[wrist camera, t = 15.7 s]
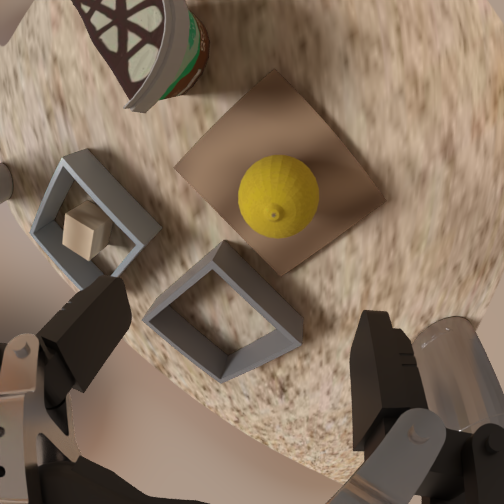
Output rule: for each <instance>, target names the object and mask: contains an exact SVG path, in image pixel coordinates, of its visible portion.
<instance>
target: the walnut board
mask: <svg viewBox="0 0 504 504" xmlns="http://www.w3.org/2000/svg"><path fill="white" fill-rule="evenodd" d="M271 155H287V156H291V157H294V158H296V159H298V160H300V161H302V162H303V163H304V164H305V165H306V166H307V167H308V168H309V169H310V170H311V172H312V173H313V175H314V176H315V178H316V181H317V184H318V187H319V203H318V207H317V211H316V213H315V215H314V217H313V219H312V221H311V222H310V223H309V224H308V225H307V226H306V227H305V228H304V229H303V230H302V231H300V232H299V233H297V234H295V235H293V236H290V237H287V238H279V239H276V238H269V237H266V236H263V235H260V234H259V233H257V232H256V231H254V230H253V229H252V228H251V227H250V226H249V225H248V224H247V223H246V222H245V220H244V218H243V216H242V214H241V211H240V208H239V204H238V191H239V187H240V183H241V180H242V178H243V176H244V175H245V173H246V171H247V170H248V169H249V168H250V167H251V166H252V165H253V164H254V163H255V162H257V161H259V160H260V159H262V158H264V157H268V156H271ZM174 169H175V170H176V171H177V172H178V173H179V174H180V175H181V176H182V177H183V178H184V179H185V180H186V181H187V182H188V183H189V184H190V185H191V186H192V187H193V188H194V189H195V190H196V191H197V192H198V193H199V194H200V195H201V196H202V197H203V198H204V199H205V200H206V201H207V202H208V203H209V204H210V205H211V206H212V207H213V208H214V209H215V210H216V211H217V212H218V214H219V215H220V216H221V217H222V218H223V219H224V220H225V221H226V222H227V223H228V224H229V225H230V226H231V227H232V228H233V229H234V230H235V231H236V232H237V233H238V234H239V235H240V236H241V237H242V238H243V239H244V240H245V241H246V242H247V243H248V244H249V245H250V246H251V247H252V248H253V249H254V250H255V251H256V252H257V253H258V254H259V255H260V256H261V257H262V258H263V259H264V260H265V261H266V262H267V264H268V265H269V266H270V267H271V268H272V269H273V270H274V271H275V272H276V273H277V274H278V275H279V276H280V277H281V276H283V275H284V274H286V273H287V272H289V271H290V270H291V269H293V268H294V267H296V266H297V265H299V264H300V263H301V262H303V261H304V260H306V259H307V258H309V257H310V256H311V255H313V254H314V253H316V252H317V251H318V250H320V249H321V248H323V247H324V246H325V245H327V244H328V243H330V242H331V241H332V240H334V239H335V238H337V237H338V236H339V235H341V234H342V233H344V232H345V231H346V230H348V229H349V228H350V227H352V226H353V225H355V224H356V223H357V222H359V221H360V220H361V219H363V218H364V217H365V216H367V215H368V214H369V213H371V212H372V211H373V210H375V209H376V208H378V207H379V206H380V205H382V204H383V203H384V202H386V201H387V200H386V199H385V198H384V196H383V195H382V193H381V192H380V191H379V189H378V188H377V186H376V185H375V184H374V182H373V181H372V180H371V178H370V177H369V176H368V174H367V173H366V172H365V170H364V169H363V168H362V166H361V165H360V164H359V162H358V161H357V160H356V159H355V157H354V156H353V155H352V154H351V152H350V151H349V150H348V149H347V147H346V146H345V145H344V144H343V142H342V141H341V140H340V139H339V138H338V136H337V135H336V134H335V133H334V132H333V130H332V129H331V128H330V127H329V126H328V125H327V124H326V122H325V121H324V120H323V119H322V118H321V117H320V116H319V114H318V113H317V112H316V111H315V110H314V109H313V108H312V107H311V106H310V105H309V104H308V102H307V101H306V100H305V99H304V98H303V97H302V96H301V95H300V94H299V93H298V92H297V91H296V90H295V89H294V88H293V87H292V86H291V85H290V84H289V83H288V82H287V81H286V80H285V79H284V78H283V77H282V76H281V75H280V74H279V73H278V72H277V71H276V70H275V69H273V70H272V71H271V72H270V73H269V74H268V75H267V76H265V77H264V78H263V79H262V80H261V81H260V82H259V83H257V84H256V85H255V86H254V87H253V88H252V89H251V90H250V91H249V92H247V93H246V94H245V95H244V96H243V97H242V98H241V99H240V100H239V101H238V102H237V103H236V104H235V105H234V106H233V107H231V108H230V109H229V110H228V111H227V112H226V113H225V114H224V115H223V116H222V117H221V118H220V119H219V120H218V121H217V122H216V123H215V124H214V125H213V126H212V127H211V128H210V129H209V130H208V131H207V132H206V133H205V134H204V135H203V136H202V137H201V138H200V139H199V141H198V142H197V143H196V144H195V145H194V146H193V147H192V148H191V149H190V150H189V151H188V152H187V153H186V154H185V155H184V157H183V158H182V159H181V160H180V161H179V162H178V163H177V164H176V165H175V166H174Z"/></svg>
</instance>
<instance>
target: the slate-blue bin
mask: <svg viewBox="0 0 504 504" xmlns="http://www.w3.org/2000/svg"><path fill="white" fill-rule="evenodd" d="M74 179H75V180H76V181H77V182H78V183H79V184H80V186H81V187H82V188H83V189H84V190H85V191H86V192H87V193H88V195H89V196H90V197H91V198H92V199H93V200H94V201H95V202H96V203H97V204H98V205H99V207H100V208H101V209H102V210H103V211H104V212H105V213H106V214H107V215H108V216H109V217H110V218H111V219H112V220H113V221H114V222H115V223H116V225H117V226H118V227H119V228H120V229H121V230H122V231H123V232H124V233H125V234H126V235H127V236H128V237H129V238H130V239H131V240H132V241H133V242H134V243H135V244H136V246H135V247H134V248H133V249H132V251H131V252H130V253H129V254H128V255H127V256H126V258H125V259H124V260H123V261H122V263H121V264H120V265H119V266H118V267H117V269H116V270H115V271H114V272H113V274H112V275H111V276H113V277H119V276H120V275H121V274H122V273H123V272H124V270H125V269H126V268H127V267H128V266H129V265H130V264H131V262H132V261H133V260H134V259H135V258H136V257H137V256H138V254H139V253H140V252H141V251H142V250H143V249H144V248H145V247H146V245H147V244H148V243H149V242H150V241H151V240H152V239H153V238H154V237H155V235H156V234H157V233H158V232H159V231H160V230H161V229H162V227H161V226H160V225H159V224H158V223H157V222H156V221H155V220H154V219H153V218H152V217H151V215H150V214H149V213H148V212H147V211H146V210H145V209H144V208H143V207H142V206H141V205H140V204H139V203H138V202H137V201H136V200H135V199H134V198H133V197H132V196H131V195H130V194H129V193H128V192H127V191H126V190H125V189H124V188H123V187H122V185H121V184H120V183H119V182H118V181H117V180H116V179H115V178H114V177H113V176H112V175H111V174H110V173H109V172H108V171H107V170H106V168H105V167H104V166H103V165H102V164H101V163H100V162H99V161H98V160H97V159H96V158H95V157H94V155H93V154H92V153H91V152H90V151H89V150H88V149H84V150H81V151H78V152H75V153H72V154H69V155H67V156H64V157H62V158H61V160H60V162H59V164H58V166H57V168H56V170H55V172H54V175H53V177H52V179H51V181H50V183H49V185H48V188H47V190H46V192H45V194H44V197H43V199H42V202H41V204H40V206H39V209H38V211H37V214H36V217H35V219H34V222H33V224H32V227H31V230H30V234H31V236H32V237H33V238H34V239H35V241H36V242H37V243H38V244H39V245H40V247H41V248H42V249H43V250H44V251H45V252H46V254H47V255H48V256H49V257H50V258H51V259H52V260H53V262H54V263H55V264H56V265H57V266H58V267H59V268H60V269H61V270H62V271H63V273H64V274H65V275H66V276H67V277H68V278H69V279H70V280H71V281H72V282H73V283H74V284H75V285H76V286H77V287H78V288H79V289H80V290H83V289H85V288H86V287H88V286H90V285H91V284H92V283H93V282H94V281H95V280H96V279H97V278H98V277H99V276H101V275H104V274H103V273H102V272H101V271H100V270H99V269H98V268H97V267H96V266H95V264H94V263H93V262H92V261H91V260H90V261H88V260H86V259H85V258H83V257H81V256H80V255H78V254H77V253H75V252H74V251H72V250H71V249H69V248H68V247H66V246H65V245H63V244H62V242H63V230H62V229H61V227H60V226H59V225H58V224H57V223H56V222H55V221H54V219H55V217H56V215H57V213H58V211H59V208H60V206H61V204H62V202H63V200H64V198H65V196H66V195H67V193H68V191H69V189H70V187H71V185H72V183H73V181H74Z"/></svg>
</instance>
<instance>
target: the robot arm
mask: <svg viewBox="0 0 504 504" xmlns="http://www.w3.org/2000/svg"><path fill="white" fill-rule="evenodd" d="M131 320H132V313H131V309H130V305H129V301H128V297H127V293H126V289H125V284H124V282H123V280H122V279H121V278H119V277H113V276H107V275H101V276H99V277H98V278H97V279H96V280H95V281H94V282H93V283H92V284H91V285H90V286H88V287H86V288H85V289H83V290H81V291H79V292H78V293H76V294H75V295H74V297H72V298H71V299H70V300H69V303H66V304H65V305H64V306H63V307H62V310H59V312H57V313H56V314H55V316H54V317H53V318H52V319H51V320H50V321H49V322H48V323H47V324H46V325H45V326H44V327H43V328H42V329H41V330H40V331H39V332H38V333H37V334H36V335H33V334H22V335H19V336H17V337H15V338H13V339H12V340H11V341H10V342H9V343H8V344H6V343H0V504H208V503H204V502H200V501H196V500H179V499H167V498H157V497H150V496H148V495H145V494H144V493H142V492H141V491H139V490H137V489H136V488H135V487H133V486H132V485H131V484H129V483H128V482H126V481H125V480H124V479H122V478H121V477H119V476H118V475H117V474H115V473H114V472H113V471H111V470H109V469H106V468H104V467H102V466H100V465H98V464H96V463H94V462H92V461H90V460H88V459H86V458H84V457H83V456H82V454H81V452H80V450H79V448H78V446H77V443H76V439H75V431H74V424H73V413H72V403H71V396H70V394H69V391H70V390H71V388H73V389H76V390H78V391H80V392H83V393H84V392H85V391H86V389H87V388H88V386H89V385H90V383H91V382H92V380H93V379H94V377H95V376H96V374H97V373H98V371H99V370H100V369H101V367H102V366H103V364H104V363H105V361H106V360H107V358H108V357H109V356H110V354H111V353H112V351H113V350H114V348H115V347H116V346H117V344H118V343H119V342H120V340H121V339H122V337H123V336H124V335H125V333H126V332H127V330H128V329H129V327H130V324H131ZM350 378H351V396H352V422H353V451H364V462H363V464H362V465H361V466H360V467H359V468H358V469H357V471H356V472H355V473H354V474H353V475H352V476H351V477H350V479H349V480H348V481H347V482H346V483H345V484H344V485H343V486H342V487H341V488H340V489H339V490H338V492H337V493H336V494H335V495H334V496H333V497H332V498H331V499H330V500H329V501H328V502H327V503H326V504H408V503H409V502H410V500H411V499H412V497H413V496H414V495H420V496H422V504H504V394H503V391H502V389H501V386H500V384H499V381H498V379H497V377H496V374H495V372H494V370H493V368H492V365H491V363H490V361H489V359H488V357H487V354H486V352H485V350H484V348H483V346H482V344H481V342H480V340H479V338H478V336H477V334H476V332H475V330H474V328H473V326H472V324H471V323H470V322H469V321H468V320H466V319H465V318H461V317H450V318H445V319H443V320H440V321H438V322H436V323H434V324H432V325H430V326H429V327H428V328H426V329H425V330H424V331H423V332H422V333H420V334H419V335H418V337H417V338H416V339H415V341H414V342H413V344H411V341H410V339H409V338H408V337H407V336H406V334H405V333H404V332H403V331H402V330H401V329H396V328H392V325H391V321H390V317H389V314H388V312H386V311H373V310H364V311H363V312H362V314H361V318H360V321H359V324H358V328H357V331H356V334H355V337H354V340H353V343H352V347H351V352H350Z"/></svg>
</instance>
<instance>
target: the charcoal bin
mask: <svg viewBox="0 0 504 504" xmlns="http://www.w3.org/2000/svg"><path fill="white" fill-rule="evenodd" d="M212 269H213V270H214V271H215V272H216V273H217V274H218V275H219V276H220V277H222V278H223V279H224V280H225V281H226V282H227V283H228V284H229V285H230V286H231V287H232V288H233V289H234V290H235V291H236V292H237V293H238V294H239V295H241V296H242V297H243V298H244V299H245V300H246V301H247V302H248V303H249V304H250V305H251V306H252V307H253V308H254V309H256V310H257V311H258V312H259V313H260V314H261V315H262V316H263V317H264V318H265V319H266V320H267V321H269V322H270V323H271V324H272V325H273V326H274V327H275V328H276V330H274V331H272V332H270V333H269V334H267V335H265V336H263V337H262V338H260V339H258V340H256V341H254V342H252V343H251V344H249V345H247V346H245V347H243V348H241V349H240V350H238V351H236V352H234V353H232V354H230V355H227V354H225V353H224V352H223V351H222V350H220V349H219V348H218V347H217V346H215V345H214V344H213V343H212V342H211V341H209V340H208V339H207V338H206V337H205V336H203V335H202V334H201V333H200V332H199V331H198V330H196V329H195V328H194V327H193V326H192V325H191V324H189V323H188V322H187V321H186V320H185V319H184V318H183V317H181V316H180V315H179V314H178V313H177V312H176V311H175V310H173V309H172V308H171V307H170V306H169V304H170V303H171V302H173V301H174V300H175V299H176V298H178V297H179V296H180V295H181V294H182V293H184V292H185V291H186V290H187V289H189V288H190V287H191V286H192V285H193V284H195V283H196V282H197V281H198V280H200V279H201V278H202V277H203V276H204V275H206V274H207V273H208V272H209V271H211V270H212ZM303 320H304V319H303V318H302V317H301V316H300V315H299V314H298V313H297V312H296V311H295V310H294V309H293V308H292V307H291V306H290V305H289V304H288V303H287V302H286V301H285V300H284V299H283V298H282V297H281V296H280V295H279V294H278V293H277V292H276V291H275V290H274V289H273V288H272V287H271V286H270V285H269V284H268V283H267V282H266V281H265V280H264V279H263V278H262V277H261V276H260V275H259V274H258V273H257V272H256V271H255V270H254V269H253V268H252V267H251V266H250V265H249V264H248V263H247V262H246V261H245V260H244V259H243V258H242V257H241V256H240V255H239V254H238V253H237V252H236V251H235V250H234V249H233V248H232V247H231V246H230V245H229V244H228V243H227V242H226V241H225V240H223V241H222V242H221V243H219V244H218V245H217V246H216V247H215V248H214V249H212V250H211V251H210V252H209V253H208V254H207V255H206V256H204V257H203V258H202V259H201V260H200V261H199V262H197V263H196V264H195V265H194V266H193V267H192V268H191V269H189V270H188V271H187V272H186V273H185V274H184V275H182V276H181V277H180V278H179V279H178V280H177V281H176V282H175V283H173V284H172V285H171V286H170V287H169V288H168V289H167V290H165V291H164V292H163V293H162V294H161V295H160V296H159V297H158V298H156V300H155V301H154V303H153V304H152V306H151V307H150V308H149V310H148V311H147V313H146V314H145V316H144V317H143V319H142V321H143V322H144V323H146V324H147V325H148V326H149V327H150V328H151V329H152V330H154V331H155V332H156V333H157V334H158V335H159V336H161V337H162V338H163V339H164V340H165V341H167V342H168V343H169V344H170V345H171V346H173V347H174V348H175V349H176V350H178V351H179V352H180V353H181V354H182V355H184V356H185V357H186V358H188V359H189V360H190V361H191V362H193V363H194V364H195V365H196V366H198V367H199V368H200V369H202V370H203V371H204V372H206V373H207V374H208V375H210V376H211V377H212V378H214V379H215V380H216V381H218V382H219V383H223V382H226V381H228V380H230V379H233V378H235V377H237V376H239V375H242V374H244V373H246V372H248V371H250V370H252V369H255V368H257V367H259V366H261V365H263V364H265V363H267V362H269V361H271V360H273V359H275V358H277V357H279V356H281V355H283V354H285V353H287V352H289V351H291V350H293V349H295V348H297V347H299V346H301V345H302V338H303Z"/></svg>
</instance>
